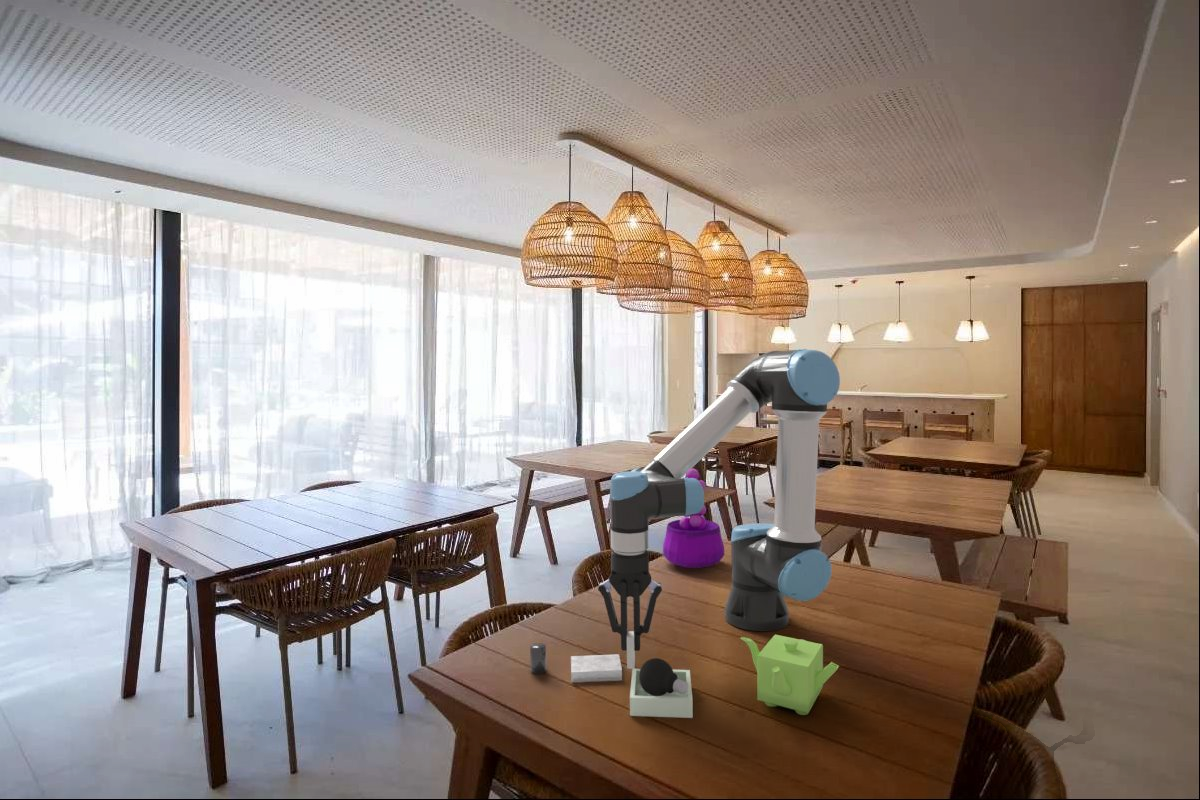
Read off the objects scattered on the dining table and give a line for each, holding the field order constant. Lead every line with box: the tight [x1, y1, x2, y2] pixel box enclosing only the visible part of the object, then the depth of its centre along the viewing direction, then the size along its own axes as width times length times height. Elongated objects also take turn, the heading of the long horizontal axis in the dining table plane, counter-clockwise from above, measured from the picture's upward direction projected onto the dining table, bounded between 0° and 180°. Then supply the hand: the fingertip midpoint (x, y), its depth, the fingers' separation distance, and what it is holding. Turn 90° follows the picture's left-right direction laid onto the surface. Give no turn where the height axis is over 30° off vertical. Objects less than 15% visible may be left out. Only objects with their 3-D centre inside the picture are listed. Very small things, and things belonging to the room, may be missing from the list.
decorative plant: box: [662, 468, 725, 569], centre depth 198 cm, size 19×18×30 cm
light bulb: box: [639, 658, 688, 696], centre depth 117 cm, size 6×6×10 cm
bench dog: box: [529, 642, 547, 675], centre depth 132 cm, size 3×3×5 cm
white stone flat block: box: [570, 653, 623, 683], centre depth 130 cm, size 10×7×2 cm
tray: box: [629, 668, 694, 719], centre depth 119 cm, size 11×11×3 cm
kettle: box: [740, 634, 840, 716], centre depth 118 cm, size 15×14×11 cm
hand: (631, 665), depth 130 cm, fingers closed
